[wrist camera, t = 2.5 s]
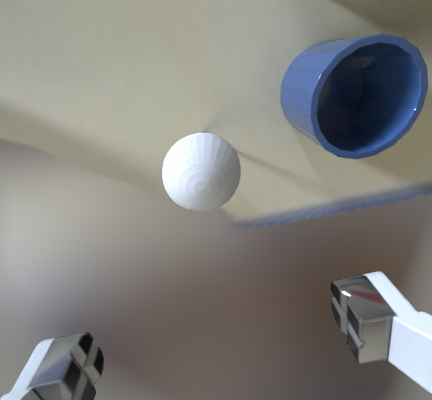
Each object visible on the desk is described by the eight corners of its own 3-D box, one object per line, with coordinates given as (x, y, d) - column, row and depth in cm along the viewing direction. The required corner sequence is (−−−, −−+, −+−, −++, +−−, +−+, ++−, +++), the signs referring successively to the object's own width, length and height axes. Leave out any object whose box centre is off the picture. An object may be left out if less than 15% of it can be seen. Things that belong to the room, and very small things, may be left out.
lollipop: (187, 97, 30) (181, 127, 17) (234, 121, 31) (263, 167, 18) (165, 147, 32) (144, 209, 19) (210, 168, 34) (219, 238, 20)
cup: (277, 137, 33) (304, 162, 25) (283, 43, 28) (318, 36, 20) (356, 132, 33) (408, 155, 25) (374, 38, 29) (444, 30, 21)
